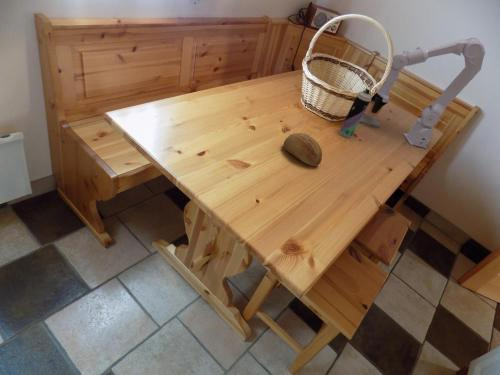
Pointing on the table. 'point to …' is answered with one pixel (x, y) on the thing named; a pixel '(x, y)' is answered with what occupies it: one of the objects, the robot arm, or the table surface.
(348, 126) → the spray can
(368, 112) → the clay cube
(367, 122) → the slate tile
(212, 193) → the table surface
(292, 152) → the bread roll
